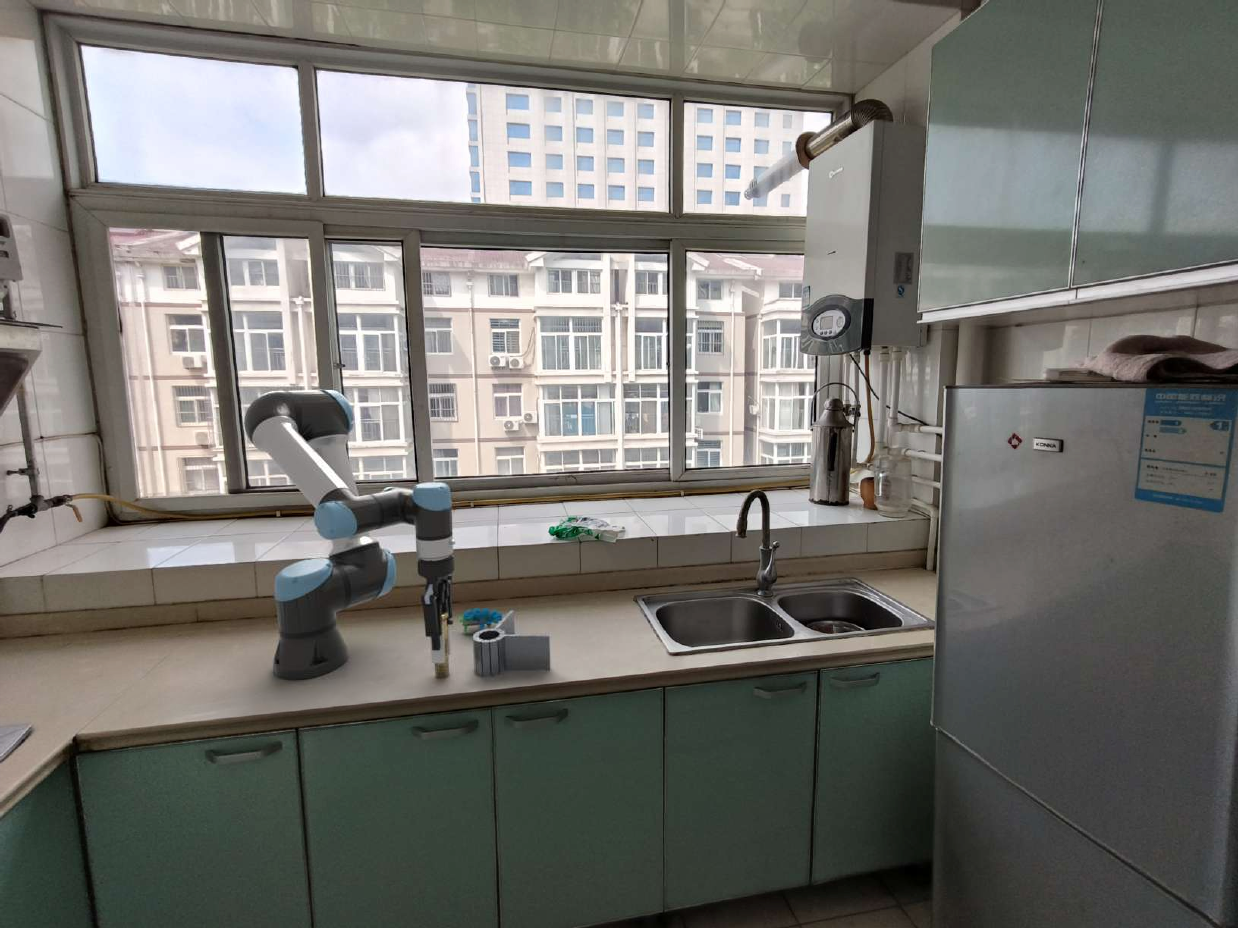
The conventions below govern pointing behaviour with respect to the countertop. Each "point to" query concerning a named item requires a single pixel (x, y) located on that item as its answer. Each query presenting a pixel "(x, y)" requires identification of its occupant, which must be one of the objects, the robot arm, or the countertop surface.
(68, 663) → the countertop surface
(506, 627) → the hinge leaf swing
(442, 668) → the pin
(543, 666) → the hinge leaf fixed
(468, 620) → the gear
